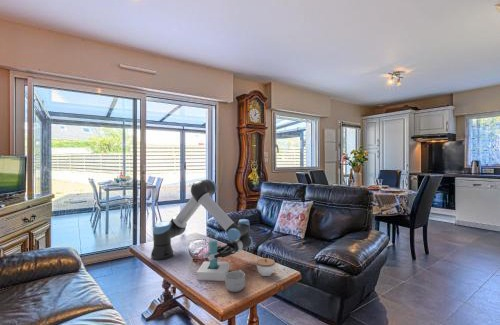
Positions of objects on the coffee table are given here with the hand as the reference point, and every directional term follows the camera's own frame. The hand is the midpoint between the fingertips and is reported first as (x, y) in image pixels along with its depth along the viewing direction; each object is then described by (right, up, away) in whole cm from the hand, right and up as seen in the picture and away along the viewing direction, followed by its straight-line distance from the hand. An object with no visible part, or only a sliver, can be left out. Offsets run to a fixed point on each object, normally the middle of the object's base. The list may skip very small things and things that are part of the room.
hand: (206, 256), depth 158 cm
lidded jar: (+35, -12, +4) cm, 37 cm away
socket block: (+4, -12, +4) cm, 13 cm away
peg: (+4, -10, +4) cm, 12 cm away
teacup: (+18, -12, -13) cm, 25 cm away
